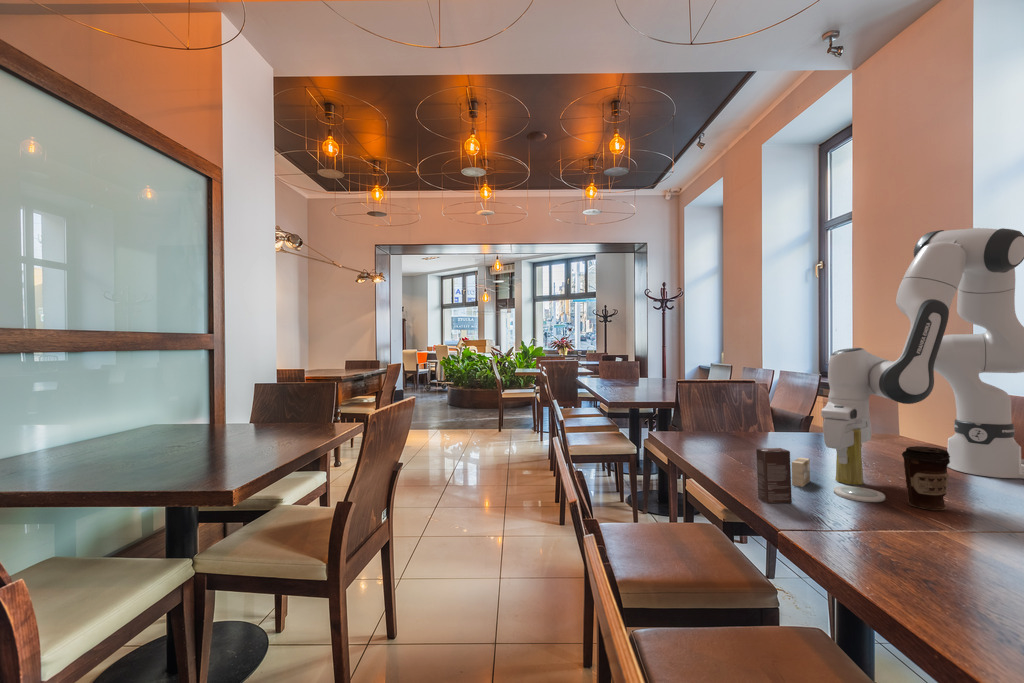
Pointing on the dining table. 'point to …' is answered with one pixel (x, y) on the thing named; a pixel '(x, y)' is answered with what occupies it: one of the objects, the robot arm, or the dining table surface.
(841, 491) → the coaster
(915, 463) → the coffee cup
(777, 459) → the box
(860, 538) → the dining table surface
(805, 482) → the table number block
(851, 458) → the vase
